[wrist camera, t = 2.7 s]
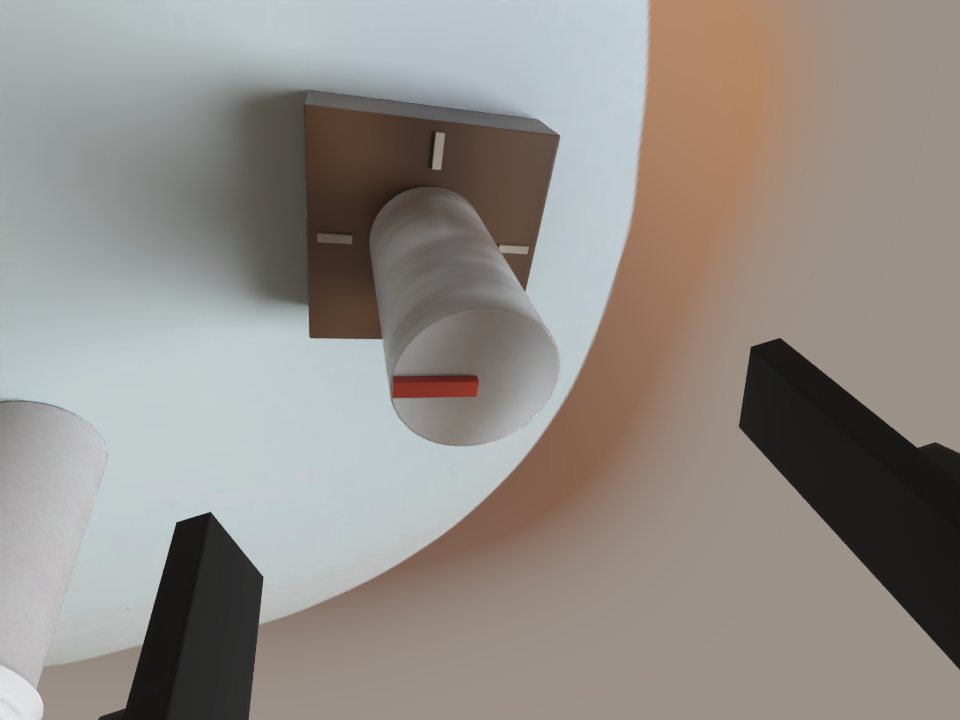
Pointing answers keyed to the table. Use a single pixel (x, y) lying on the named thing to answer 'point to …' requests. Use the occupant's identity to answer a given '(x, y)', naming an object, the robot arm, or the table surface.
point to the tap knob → (456, 323)
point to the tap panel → (398, 168)
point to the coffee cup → (39, 536)
